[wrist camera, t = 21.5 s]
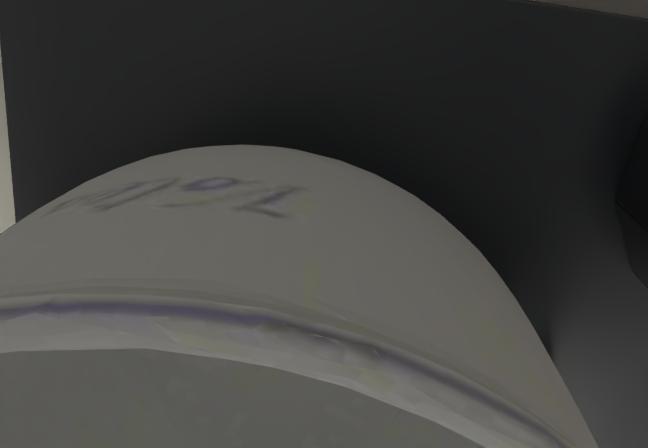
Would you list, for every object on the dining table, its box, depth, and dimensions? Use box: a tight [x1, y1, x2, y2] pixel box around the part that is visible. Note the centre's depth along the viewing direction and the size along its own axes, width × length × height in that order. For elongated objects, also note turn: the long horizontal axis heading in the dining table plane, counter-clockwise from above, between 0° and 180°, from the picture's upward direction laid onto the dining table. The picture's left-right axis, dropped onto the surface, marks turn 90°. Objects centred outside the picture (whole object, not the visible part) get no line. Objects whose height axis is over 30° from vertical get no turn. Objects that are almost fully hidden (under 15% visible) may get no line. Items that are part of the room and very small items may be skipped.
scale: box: [0, 0, 648, 448], centre depth 13 cm, size 19×17×4 cm
